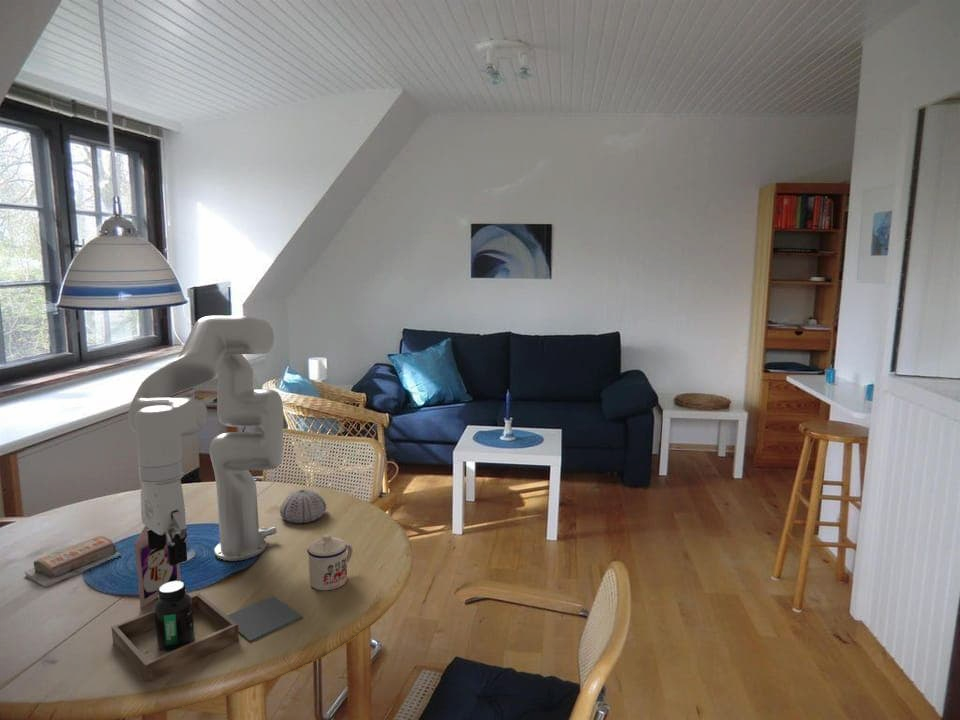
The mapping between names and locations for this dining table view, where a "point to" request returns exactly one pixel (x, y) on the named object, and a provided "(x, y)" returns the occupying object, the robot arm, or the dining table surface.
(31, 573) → the packaged product
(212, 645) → the walnut box
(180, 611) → the supplement bottle
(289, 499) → the sea urchin shell
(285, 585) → the dining table surface
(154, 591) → the greeting card
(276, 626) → the charcoal mat
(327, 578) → the teacup with lid
